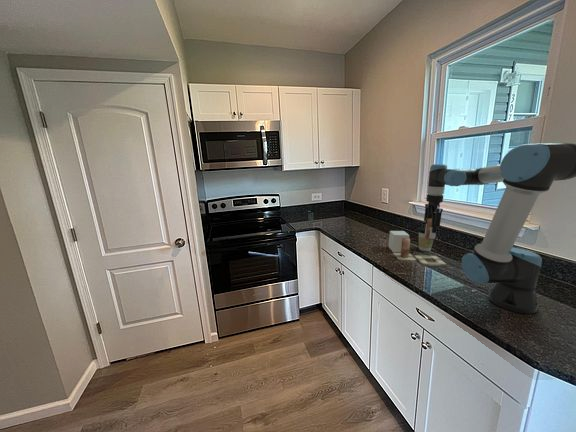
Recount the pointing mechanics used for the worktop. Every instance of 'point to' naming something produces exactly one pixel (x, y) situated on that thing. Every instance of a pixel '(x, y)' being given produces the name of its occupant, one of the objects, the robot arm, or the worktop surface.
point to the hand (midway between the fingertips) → (429, 236)
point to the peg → (428, 229)
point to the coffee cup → (424, 240)
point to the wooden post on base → (404, 251)
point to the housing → (396, 240)
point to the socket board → (437, 262)
